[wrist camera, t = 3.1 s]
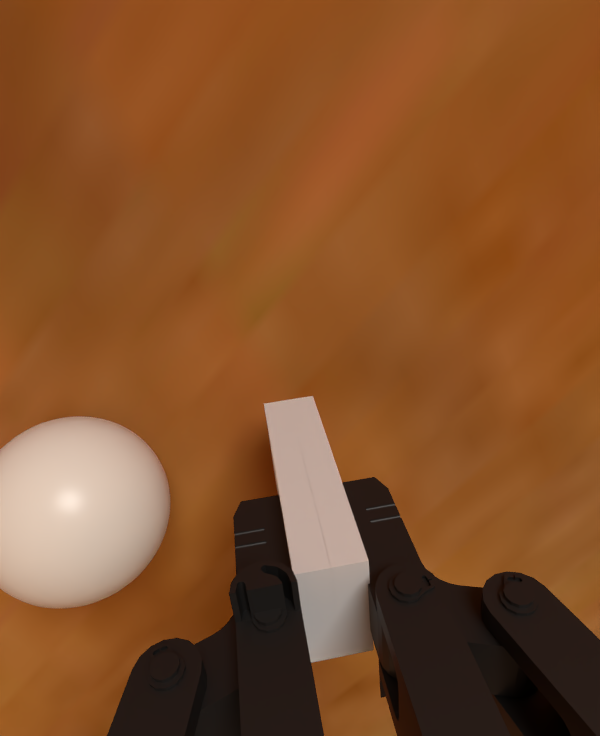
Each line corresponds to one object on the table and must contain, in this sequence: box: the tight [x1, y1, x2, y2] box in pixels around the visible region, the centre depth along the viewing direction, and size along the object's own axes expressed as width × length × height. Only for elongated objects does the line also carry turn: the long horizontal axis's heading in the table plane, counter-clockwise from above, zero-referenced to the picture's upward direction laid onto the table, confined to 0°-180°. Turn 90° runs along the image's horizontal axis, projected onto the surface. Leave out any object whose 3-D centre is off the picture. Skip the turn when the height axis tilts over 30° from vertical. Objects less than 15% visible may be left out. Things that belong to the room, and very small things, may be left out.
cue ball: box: [0, 416, 170, 608], centre depth 16 cm, size 6×6×6 cm
